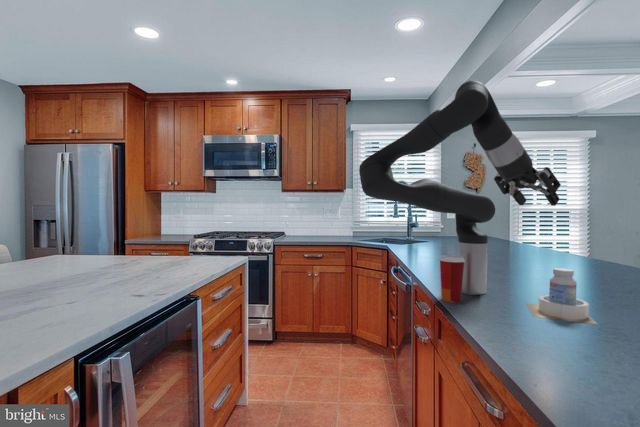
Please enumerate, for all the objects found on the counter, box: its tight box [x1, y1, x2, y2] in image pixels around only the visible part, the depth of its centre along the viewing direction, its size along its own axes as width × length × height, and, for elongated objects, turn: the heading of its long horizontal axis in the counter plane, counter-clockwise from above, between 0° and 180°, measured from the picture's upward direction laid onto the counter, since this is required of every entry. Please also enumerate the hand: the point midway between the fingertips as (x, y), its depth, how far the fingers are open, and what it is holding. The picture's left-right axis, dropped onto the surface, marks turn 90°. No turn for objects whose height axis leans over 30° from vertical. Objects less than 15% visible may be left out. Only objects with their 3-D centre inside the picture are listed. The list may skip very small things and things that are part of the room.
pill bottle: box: [548, 267, 578, 305], centre depth 96 cm, size 6×6×11 cm
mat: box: [525, 302, 598, 325], centre depth 96 cm, size 14×14×1 cm
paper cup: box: [438, 254, 465, 304], centre depth 109 cm, size 8×8×14 cm
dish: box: [538, 294, 590, 320], centre depth 96 cm, size 11×11×4 cm
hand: (538, 203), depth 88 cm, fingers open, 8 cm apart
